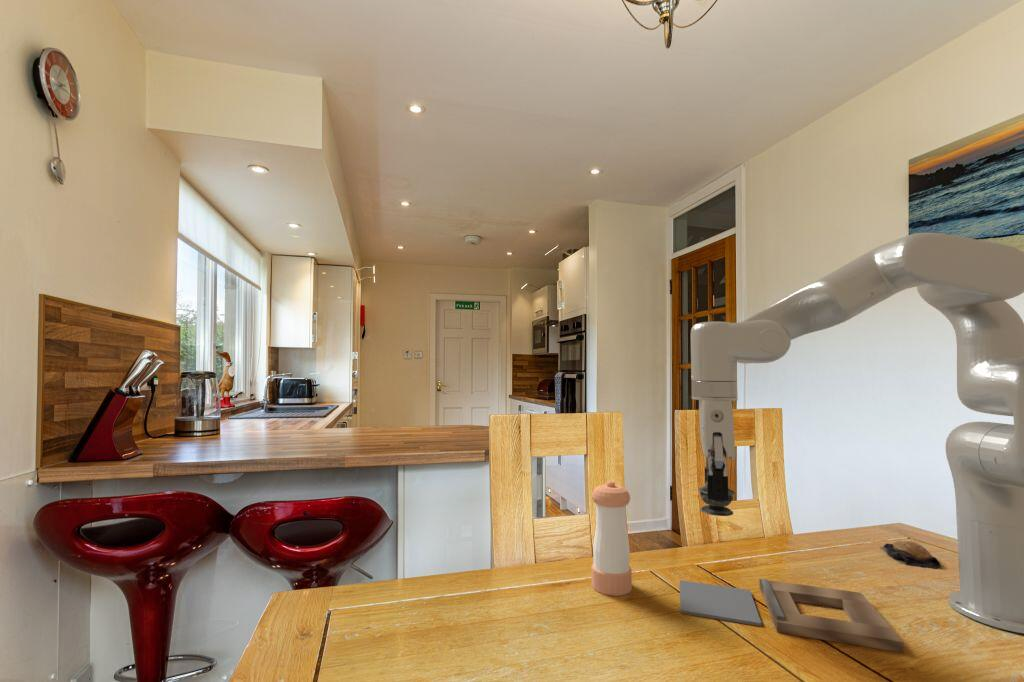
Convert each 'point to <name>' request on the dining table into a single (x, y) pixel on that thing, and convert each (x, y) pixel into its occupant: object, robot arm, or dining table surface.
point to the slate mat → (718, 602)
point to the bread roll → (911, 554)
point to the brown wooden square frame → (860, 631)
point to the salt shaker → (715, 501)
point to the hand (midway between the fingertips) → (716, 493)
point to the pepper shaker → (611, 541)
